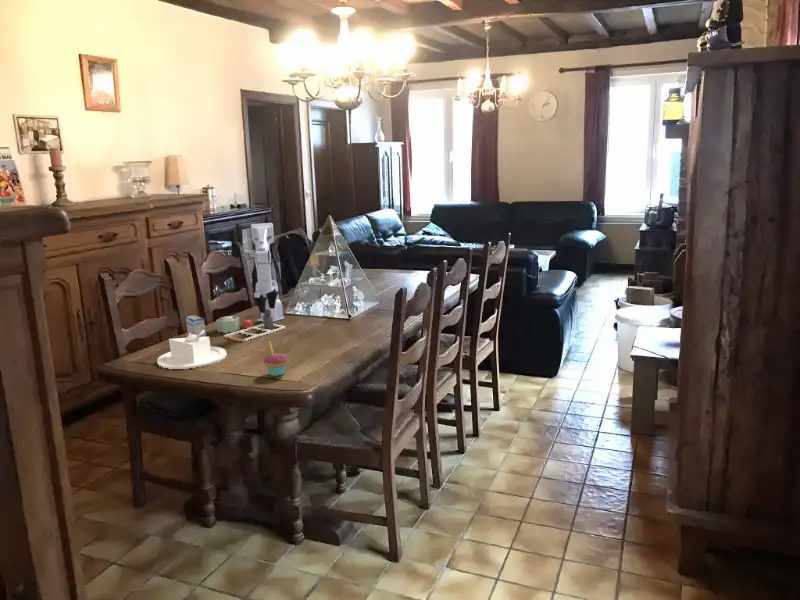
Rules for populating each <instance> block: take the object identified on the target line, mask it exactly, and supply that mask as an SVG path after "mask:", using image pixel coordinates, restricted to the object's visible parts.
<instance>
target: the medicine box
mask: <svg viewBox="0 0 800 600" xmlns="http://www.w3.org/2000/svg"><path fill="white" fill-rule="evenodd" d="M185 320H186V329H187V335H188V334H190V333H191V334H192V335H198V334H199V333H201V332H202V331H203V330H204V331H205V332H204V333H203V334H201V335H200V336H199V337H207V336H206V335H207V333H206V326H205V318H204V317H201V316H198V315H195V314H194V315H188V316H186V317H185Z"/></svg>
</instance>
